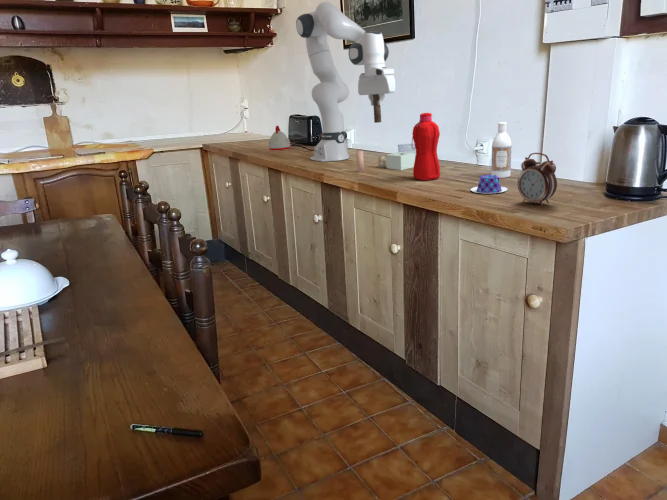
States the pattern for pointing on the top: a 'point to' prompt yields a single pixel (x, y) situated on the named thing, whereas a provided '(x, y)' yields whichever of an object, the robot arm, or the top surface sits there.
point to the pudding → (489, 185)
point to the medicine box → (407, 148)
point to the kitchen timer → (279, 140)
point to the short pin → (381, 161)
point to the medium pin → (360, 161)
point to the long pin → (376, 108)
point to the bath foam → (501, 153)
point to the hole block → (400, 160)
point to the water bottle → (426, 148)
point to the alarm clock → (537, 180)
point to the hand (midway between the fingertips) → (376, 105)
